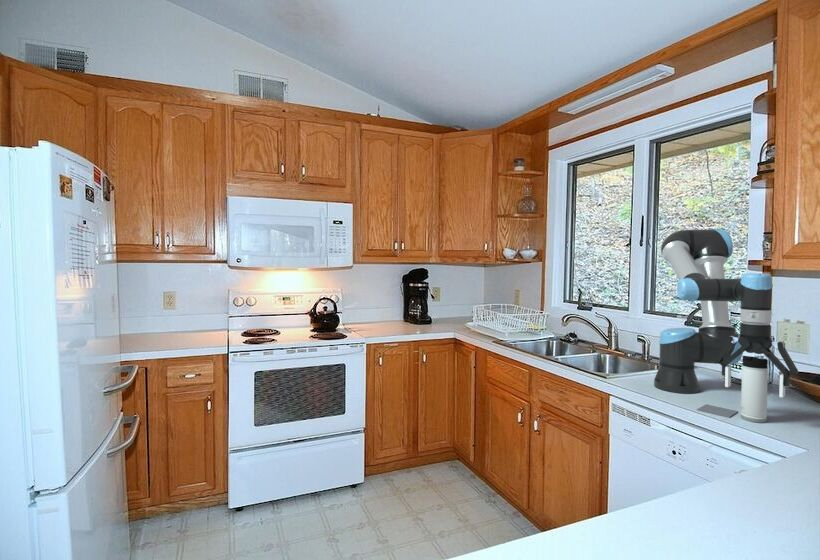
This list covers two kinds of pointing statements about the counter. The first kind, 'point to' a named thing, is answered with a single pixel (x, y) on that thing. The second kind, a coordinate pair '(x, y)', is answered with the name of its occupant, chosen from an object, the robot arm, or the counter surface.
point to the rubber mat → (717, 410)
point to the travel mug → (754, 389)
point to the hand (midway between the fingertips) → (753, 391)
